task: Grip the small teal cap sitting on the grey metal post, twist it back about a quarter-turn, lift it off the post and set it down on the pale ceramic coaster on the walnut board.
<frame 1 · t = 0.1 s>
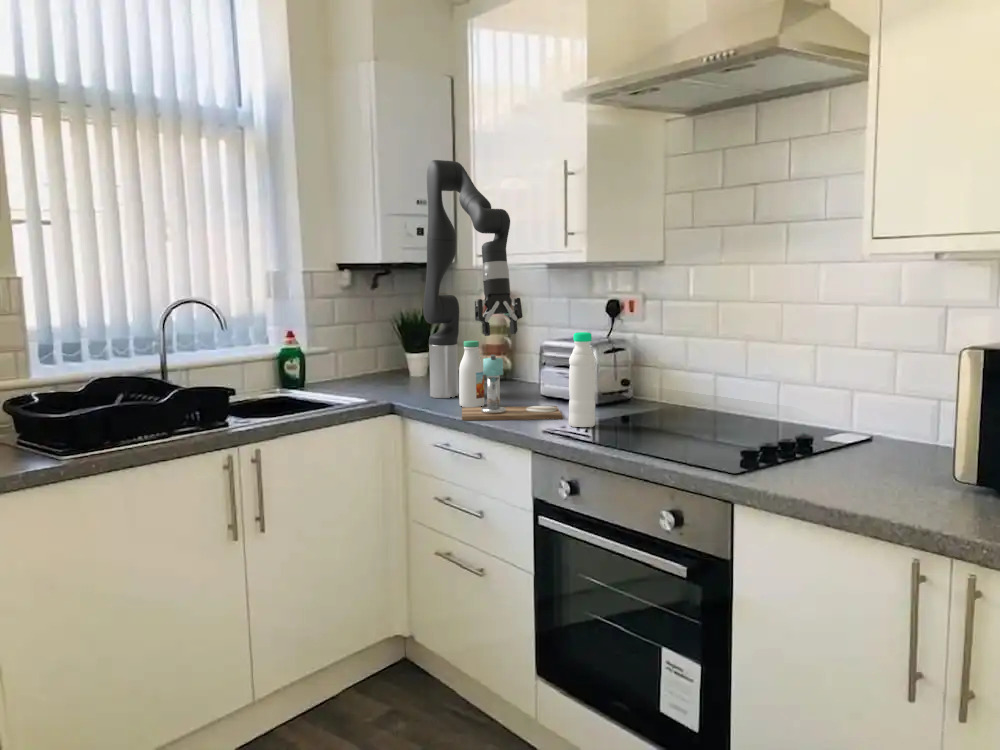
hand: (500, 334, 228), 23 cm above the worktop, tool pointing down, fingers open, 8 cm apart
milk bottle: (472, 406, 243), on the worktop
white bottle: (581, 426, 212), on the worktop
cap: (493, 374, 225), point 12 cm above the worktop, touching post
board: (510, 415, 228), on the worktop
post: (493, 416, 227), resting on board
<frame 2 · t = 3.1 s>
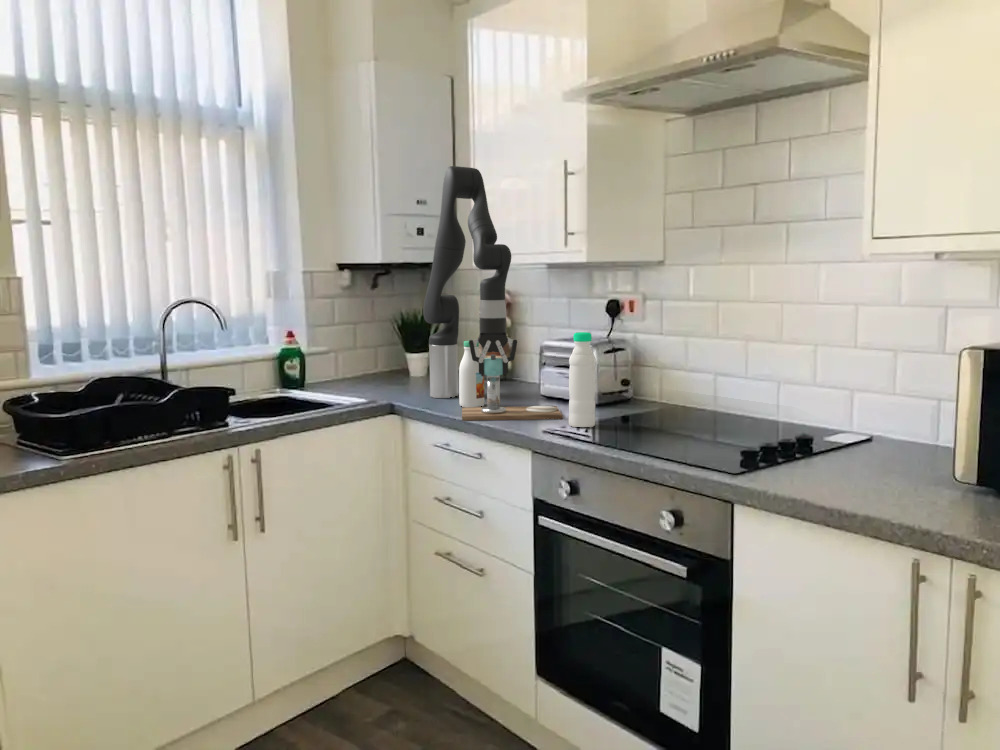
hand: (493, 375, 225), 12 cm above the worktop, tool pointing down, fingers closed on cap, 5 cm apart
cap: (493, 374, 225), point 12 cm above the worktop, touching gripper, post
everything else where it was.
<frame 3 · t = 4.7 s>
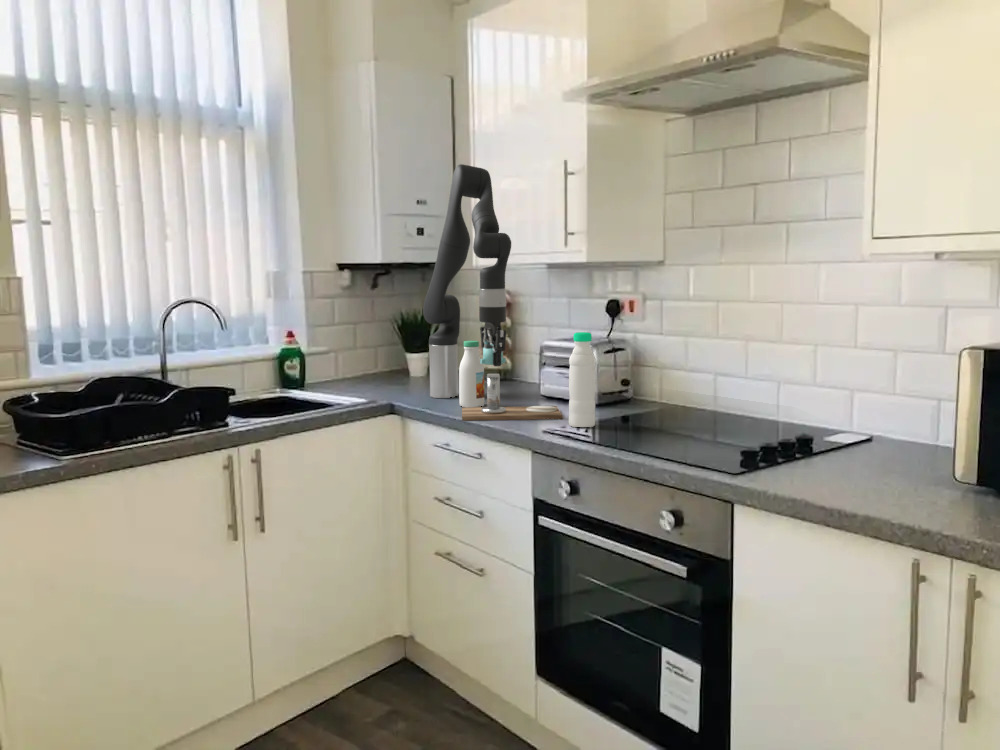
hand: (493, 364, 225), 15 cm above the worktop, tool pointing down, fingers closed on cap, 5 cm apart
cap: (493, 363, 225), point 15 cm above the worktop, touching gripper
everything else where it was.
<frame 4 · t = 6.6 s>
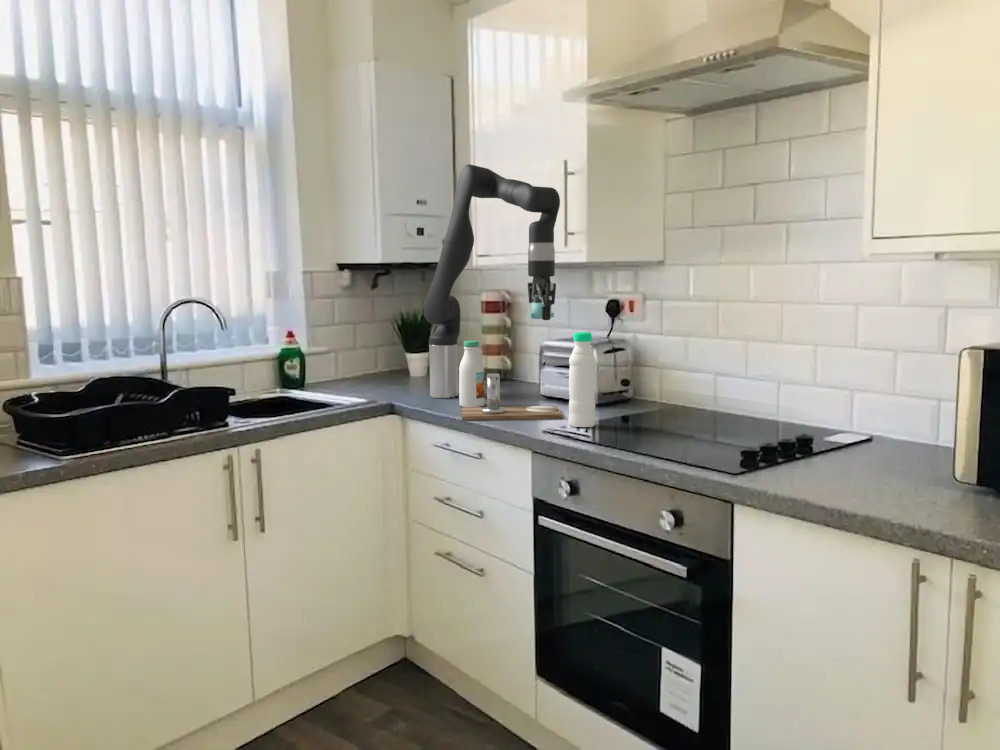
hand: (541, 319, 226), 27 cm above the worktop, tool pointing down, fingers closed on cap, 5 cm apart
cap: (541, 318, 226), point 28 cm above the worktop, touching gripper
everything else where it was.
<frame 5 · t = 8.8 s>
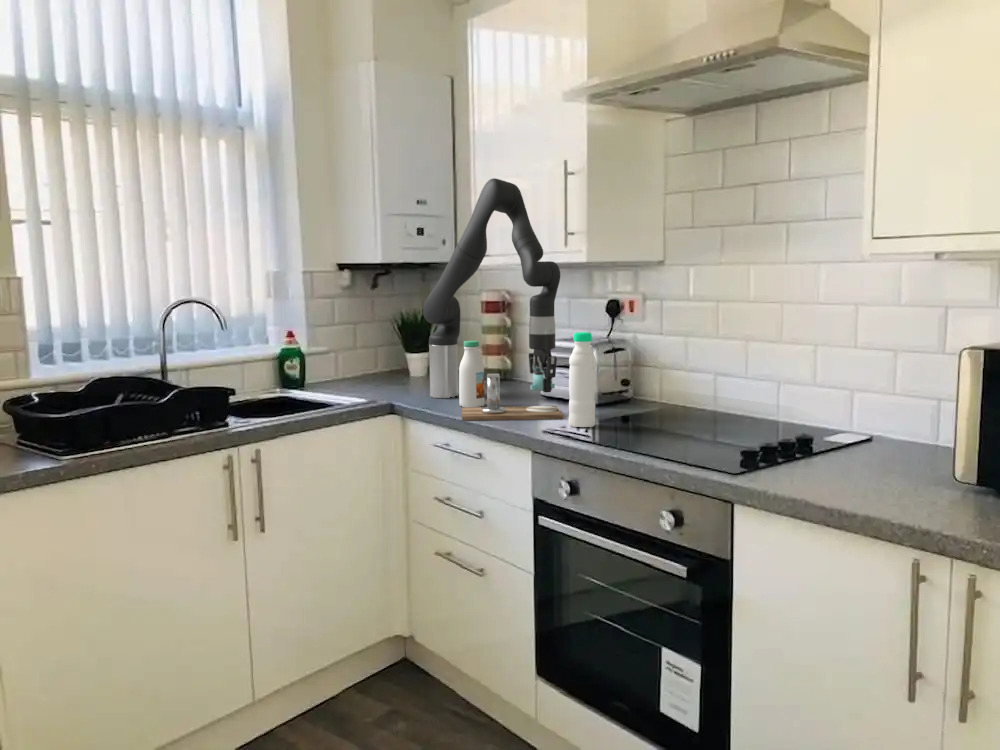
hand: (542, 390, 228), 7 cm above the worktop, tool pointing down, fingers closed on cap, 5 cm apart
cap: (542, 389, 228), point 7 cm above the worktop, touching gripper
everything else where it was.
when the fingers open (3 cm above the worktop, at t = 10.3 s): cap drops 2 cm, resting on board.
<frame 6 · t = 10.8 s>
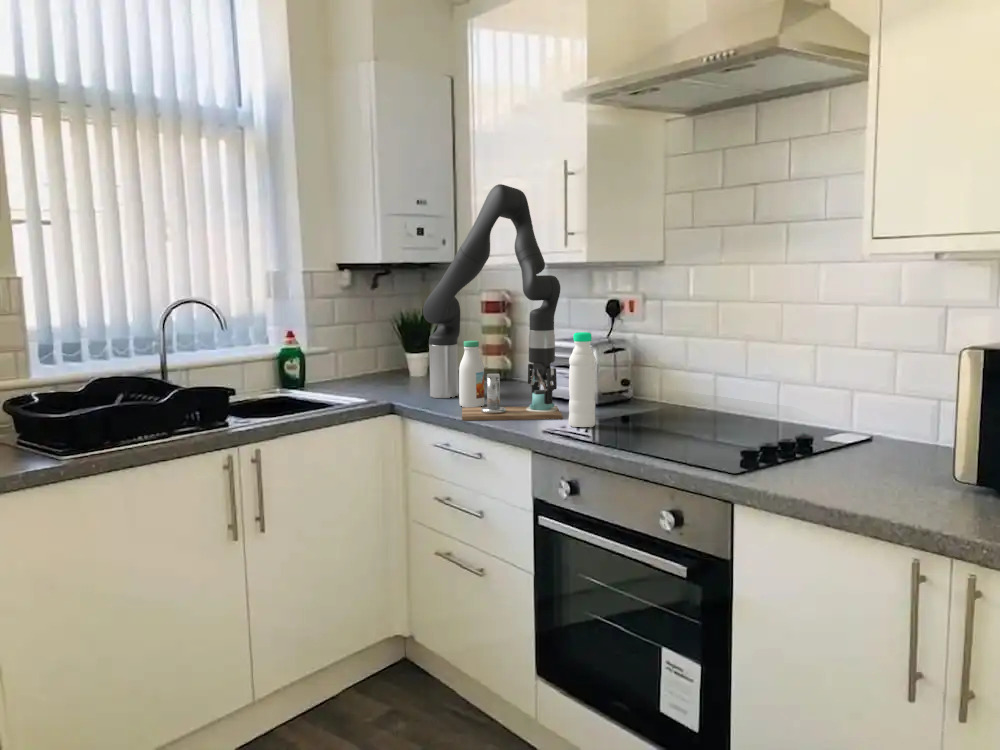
hand: (541, 401, 229), 4 cm above the worktop, tool pointing down, fingers open, 8 cm apart
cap: (541, 408, 229), point 2 cm above the worktop, touching board
everything else where it was.
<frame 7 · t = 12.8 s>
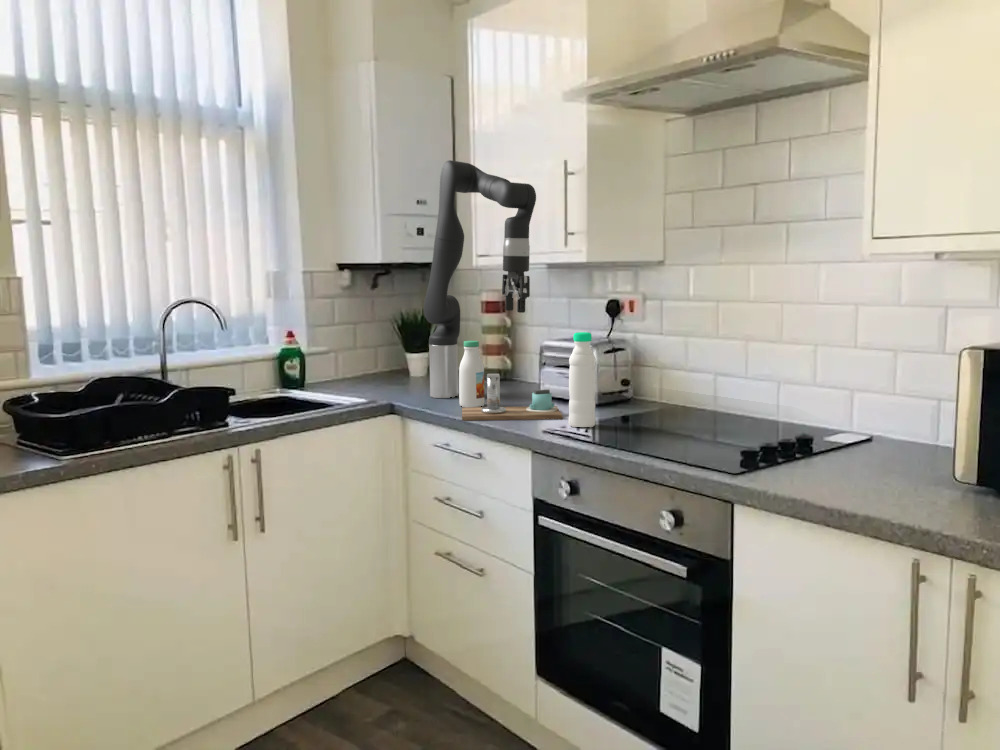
hand: (515, 311, 229), 29 cm above the worktop, tool pointing down, fingers open, 8 cm apart
nothing on the worktop moved.
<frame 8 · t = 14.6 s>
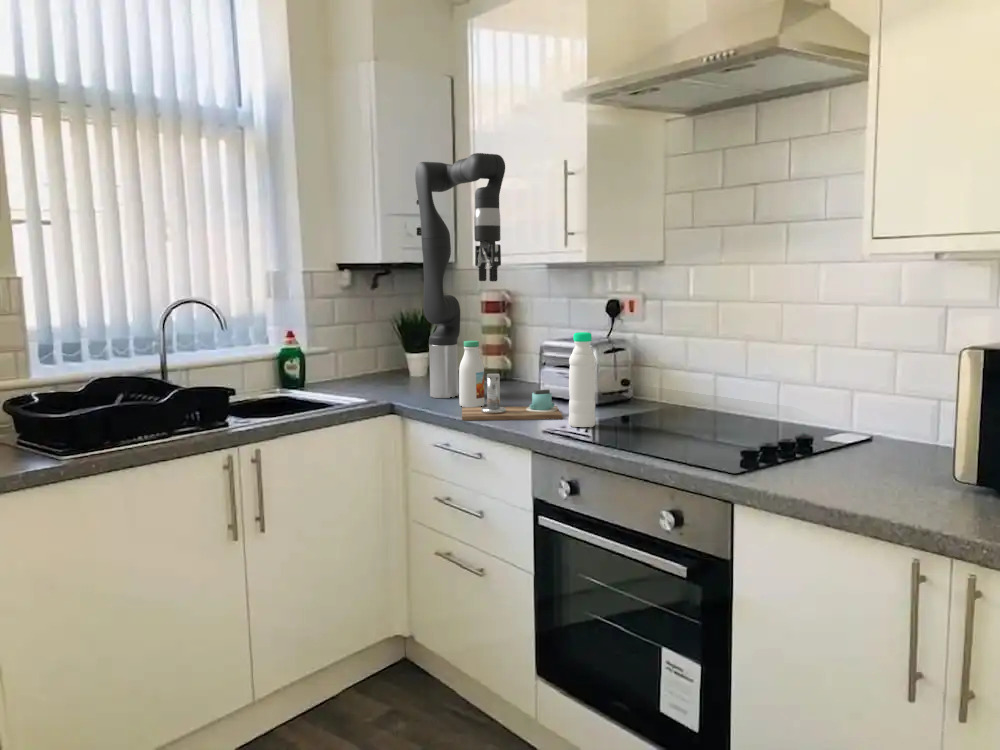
hand: (487, 281, 231), 38 cm above the worktop, tool pointing down, fingers open, 8 cm apart
nothing on the worktop moved.
at the end: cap inside the target area (0.1 cm from its centre), point 1.6 cm above the worktop; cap tilted 0°; the gripper is holding nothing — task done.
